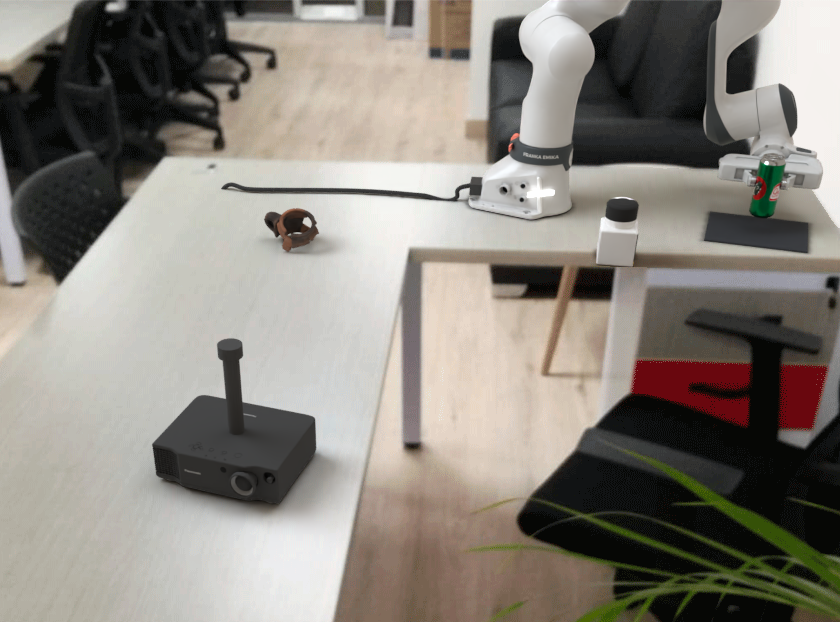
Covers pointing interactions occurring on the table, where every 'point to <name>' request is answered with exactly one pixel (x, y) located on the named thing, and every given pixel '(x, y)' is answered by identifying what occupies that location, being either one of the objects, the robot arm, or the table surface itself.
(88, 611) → the table surface
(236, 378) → the projector
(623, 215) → the medicine bottle
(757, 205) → the soda can
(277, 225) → the brown curved piece
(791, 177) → the robot arm
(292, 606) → the table surface
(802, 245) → the desk pad
